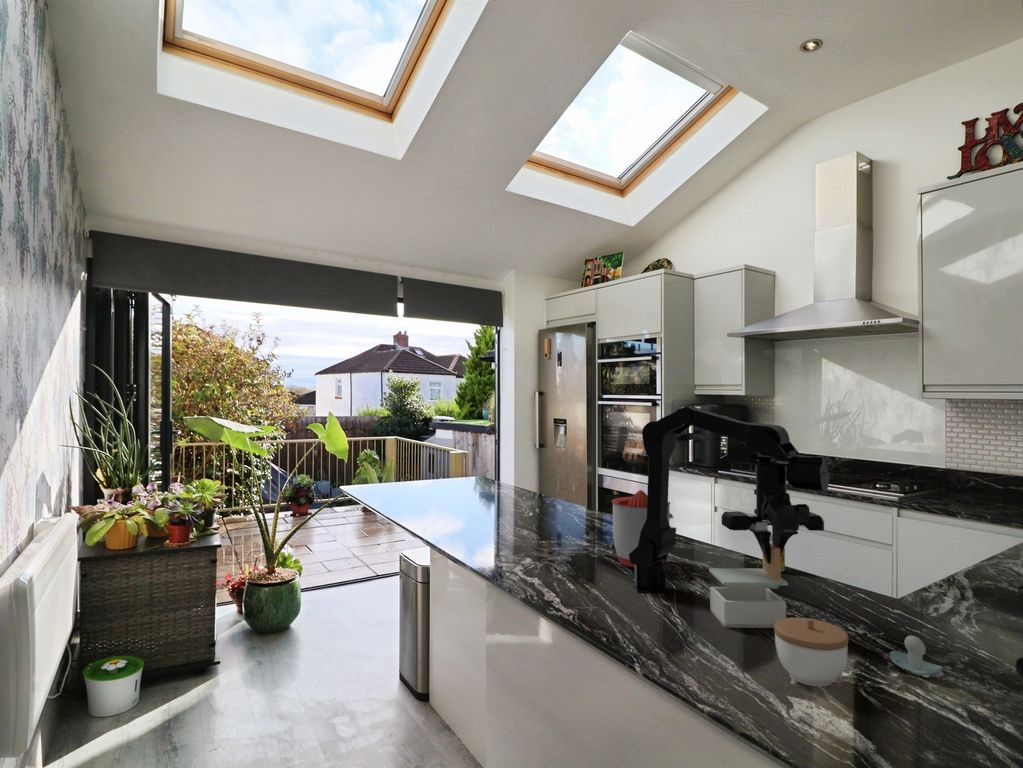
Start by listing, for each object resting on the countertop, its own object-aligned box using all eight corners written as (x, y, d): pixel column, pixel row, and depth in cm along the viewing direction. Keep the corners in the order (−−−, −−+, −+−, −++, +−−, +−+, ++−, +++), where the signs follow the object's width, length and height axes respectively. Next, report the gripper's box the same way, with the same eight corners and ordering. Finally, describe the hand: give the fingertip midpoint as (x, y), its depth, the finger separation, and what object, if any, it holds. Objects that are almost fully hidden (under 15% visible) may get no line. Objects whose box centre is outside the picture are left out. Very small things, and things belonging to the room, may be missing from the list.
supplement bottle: (770, 565, 158) (770, 529, 158) (789, 570, 154) (788, 533, 154) (758, 568, 155) (758, 532, 155) (777, 573, 151) (776, 536, 151)
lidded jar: (768, 682, 93) (768, 622, 94) (780, 657, 102) (779, 603, 103) (846, 701, 88) (845, 638, 88) (851, 673, 96) (850, 615, 97)
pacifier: (902, 660, 102) (885, 668, 98) (902, 624, 102) (885, 630, 99) (952, 677, 95) (935, 686, 92) (952, 638, 96) (935, 645, 92)
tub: (724, 627, 116) (724, 601, 116) (710, 610, 125) (710, 587, 125) (786, 627, 115) (785, 602, 115) (767, 611, 124) (767, 587, 124)
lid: (724, 590, 116) (723, 551, 116) (709, 575, 125) (708, 540, 125) (787, 590, 115) (787, 551, 115) (768, 576, 125) (767, 540, 125)
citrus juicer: (688, 567, 156) (687, 492, 157) (632, 575, 150) (632, 496, 150) (653, 553, 171) (653, 484, 171) (601, 559, 164) (601, 487, 165)
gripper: (739, 492, 113) (740, 574, 112) (838, 493, 112) (839, 575, 112) (720, 484, 124) (721, 558, 123) (810, 484, 123) (811, 559, 123)
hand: (772, 563), depth 120 cm, fingers closed on lid
